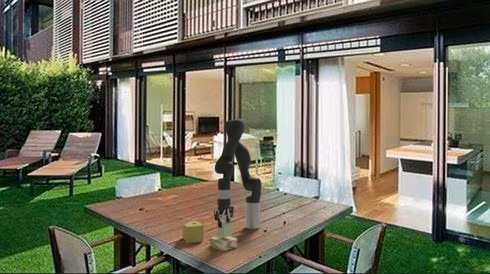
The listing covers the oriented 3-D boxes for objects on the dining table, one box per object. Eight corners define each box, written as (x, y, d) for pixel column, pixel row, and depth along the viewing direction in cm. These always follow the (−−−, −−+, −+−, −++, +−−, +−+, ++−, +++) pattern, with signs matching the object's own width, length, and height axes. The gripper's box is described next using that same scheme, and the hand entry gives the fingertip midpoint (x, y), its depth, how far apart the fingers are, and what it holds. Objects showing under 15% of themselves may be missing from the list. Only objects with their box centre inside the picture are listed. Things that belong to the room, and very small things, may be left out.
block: (224, 233, 222) (224, 221, 222) (230, 235, 218) (231, 223, 218) (217, 235, 218) (217, 222, 218) (223, 237, 214) (224, 224, 214)
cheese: (182, 238, 232) (182, 222, 232) (199, 236, 236) (199, 220, 235) (185, 244, 223) (185, 226, 222) (204, 241, 226) (204, 225, 226)
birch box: (226, 242, 227) (226, 234, 226) (237, 247, 218) (237, 238, 218) (210, 246, 220) (210, 237, 219) (221, 251, 211) (221, 242, 211)
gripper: (228, 194, 225) (228, 222, 226) (210, 197, 214) (209, 227, 215) (237, 196, 220) (237, 225, 221) (219, 200, 209) (219, 230, 210)
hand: (223, 226), depth 218 cm, fingers closed on block, 5 cm apart
